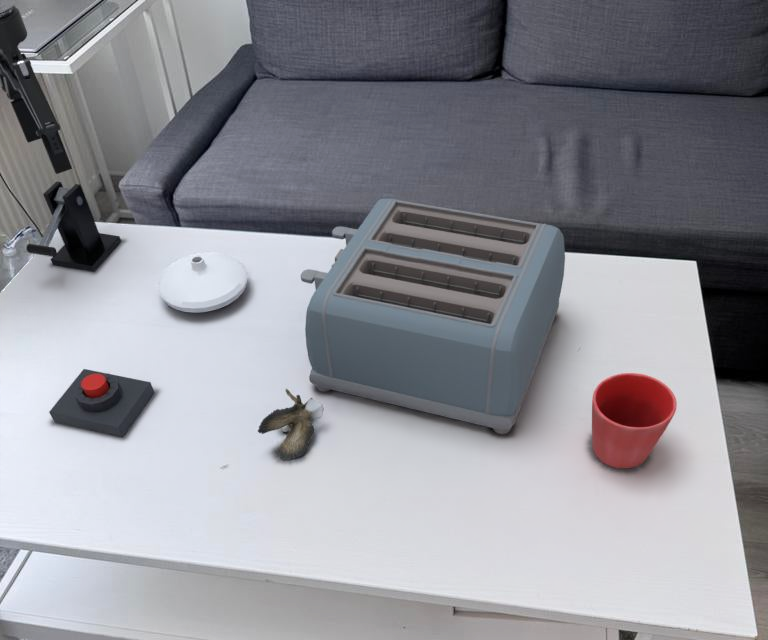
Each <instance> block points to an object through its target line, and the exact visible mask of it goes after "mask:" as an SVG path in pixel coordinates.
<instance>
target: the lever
mask: <svg viewBox="0 0 768 640" xmlns="http://www.w3.org/2000/svg"><path fill="white" fill-rule="evenodd" d="M70 189H71V188H68V187H64V186H63V187H59V190H58V192H57V194H56V196H55V198H54V201H55V202H56V203H57V204H58V205H57V208H56V210H55V212H54V214H53V216H52V215H51V219H50V221H49V222H48V225H47V226H46V229H45V231H44V233H43V236H42V237H41V240H40V242H39V243H38V244H34V243H27V245H26V252H27V253H28V254H33V255H40V256H46V257H51V258H52V257H55V256H56V254H57V252H58V251H57V249H56V248H55V247H53V246H50V244H51V243H52V240H53V238H54V235H55V234H56V231H57V230H58V228H57V227H58V225H59V223H60V221H61V218H62V216H63V214H64V212H65V210H68V209H67V207H66V205H65V202H64V200H63V196H64V195H65V194H66V193H67V192H68V191H69V190H70Z"/></svg>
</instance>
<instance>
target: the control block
mask: <svg viewBox="0 0 768 640" xmlns="http://www.w3.org/2000/svg"><path fill="white" fill-rule="evenodd" d="M91 374H101V375H103V376H104V377H105V379H106V381H107V383H108V385H109V390H108V392H107V393H106V394H104V395H102V396H101V397H97V398H89V397H87V396H86V394H85V392H84V390H83V388H82V386H81V382H82V380H83V379H84V378H85V377H87V376H88V375H91ZM154 394H155V390H154V387H153V384H152V383H151V381H146V380H143V379H142V380H141V379H137V378H132V377H127V376H121V375H118V374H117V375H116V374H111V373H106V372H101V371H96V370H91V369H87V368H83V369H82V370H81V372H80V373H79V374H78V375H77V376H76V378H75V379H74V380H73V381H72V383H71V384H70V385H69V387H68V388H67V389H66V390H65V391H64V393H63V394H62V395H61V397H60V398H58V400H57V401H56V402H55V404H54V405H53V407H52V408H51V409H50V410H49V411H48V413H49V415H50V417H51V419H52V420H53V422H54V423H57V424H61V425H66V426H69V427H74V428H75V427H76V428H79V429H84V430H87V431H88V430H89V431H93V432H98V433H103V434H107V435H111V436H117V437H120V438H124V436H125V435H126V434H127V432H128V431H129V430H130V428H131V427H132V425H133V424H134V422H135V421H136V419H137V418H138V416H139V415H140V414H141V412H142V411H143V409H144V408H145V407H146V405H147V404H148V402H149V401H150V400H151V398H152V396H153V395H154Z"/></svg>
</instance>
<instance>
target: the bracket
mask: <svg viewBox="0 0 768 640" xmlns="http://www.w3.org/2000/svg"><path fill="white" fill-rule="evenodd" d="M59 187H63V188H64V186H63V183H62V182H61V181H55V182H54V183H53V184H52V185H51V186H49V188H47V190H45V192H43V193H42V195H43V198H44V201H45V203H46V205H47V207H48V209H49V212H50V214H51V217H52V216H53V214H54V212H55V210H56V208H57V205H58V204H57V203H56V202H55V201H54V198H55V196H56V194H57V192H58V190H59ZM63 200H64V202H65V205H66V207H67V209H68V210H65V212H64V214H63V216H62V218H61V221H60V223H59V225H58V227H57V231H58V233H59V235H60V237H61V240H62V242H63V244H64V245H63V246H62V247H61V248H60V249H59V250H58V251H57V254H56V256H55V257H51V258H50V261H51V264H52V266H57V267H64V268H70V269H75V270H80V271H81V270H82V271H88V272H93V273H95V272H96V271H97V270H98V269H99V268H100V267H101V265H102V264H104V262H105V261H106V260H107V259H108V257H109V256H110V255H111V254H112V253H113V252H114V251H115V249H116V248H117V247H118V246H119V245H120V244H121V243H122V240H121V237H120V236H119V235H115V234H108V233H101V232H99V230H98V227H97V226H98V225H97V224H96V221H95V219H94V216H93V213H92V211H91V209H90V206H89V203H88V201H87V198H86V196H85V193H84V190H83V187H82V185H81V184H78V183H75V184H74V185H73V186H72V187H71V188H70V190H69V191H68V192H67V193H66V194H65V195H64V196H63Z"/></svg>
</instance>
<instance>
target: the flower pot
mask: <svg viewBox="0 0 768 640" xmlns="http://www.w3.org/2000/svg"><path fill="white" fill-rule="evenodd" d="M676 411H677V398H676V396H675V394H674V392H673V390H671V389H670V387H669V386H668V385H666V384H665V383H664V382H662V381H661V380H659V379H657V378H655V377H653V376H650V375H647V374H643V373H635V372H624V373H618V374H614V375H612V376H611V375H610V376H609V377H606V378H604V379H603V380H602V381H601V382H599V384H597V386H596V387H595V389H594V391H593V393H592V400H591V441H592V450H593V453H594V455H595V456H596V457H597V459H598V460H599V461H600V462H601V463H603V464H605V465H607V466H609V467H612V468H616V469H632V468H636V467H638V466H640V465H642V464H643V463H644V462H645V461H646V460H647V459H648V457H649V455H650V454H651V453H652V451H653V450H654V449H655V446H656V445H657V444H658V442H659V441H660V439H661V437H663V434H664V433H665V431H666V429H667V427H668V426H669V425H670V423H671V422H672V419H673V418H674V416H675V414H676Z"/></svg>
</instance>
